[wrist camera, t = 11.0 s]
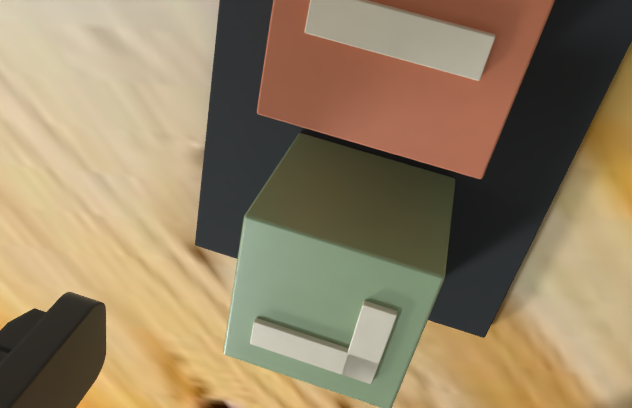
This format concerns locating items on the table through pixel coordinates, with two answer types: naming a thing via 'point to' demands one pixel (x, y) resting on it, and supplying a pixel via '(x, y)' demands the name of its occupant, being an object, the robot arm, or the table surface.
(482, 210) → the word mat
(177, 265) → the table surface
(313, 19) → the letter I
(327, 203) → the letter L
